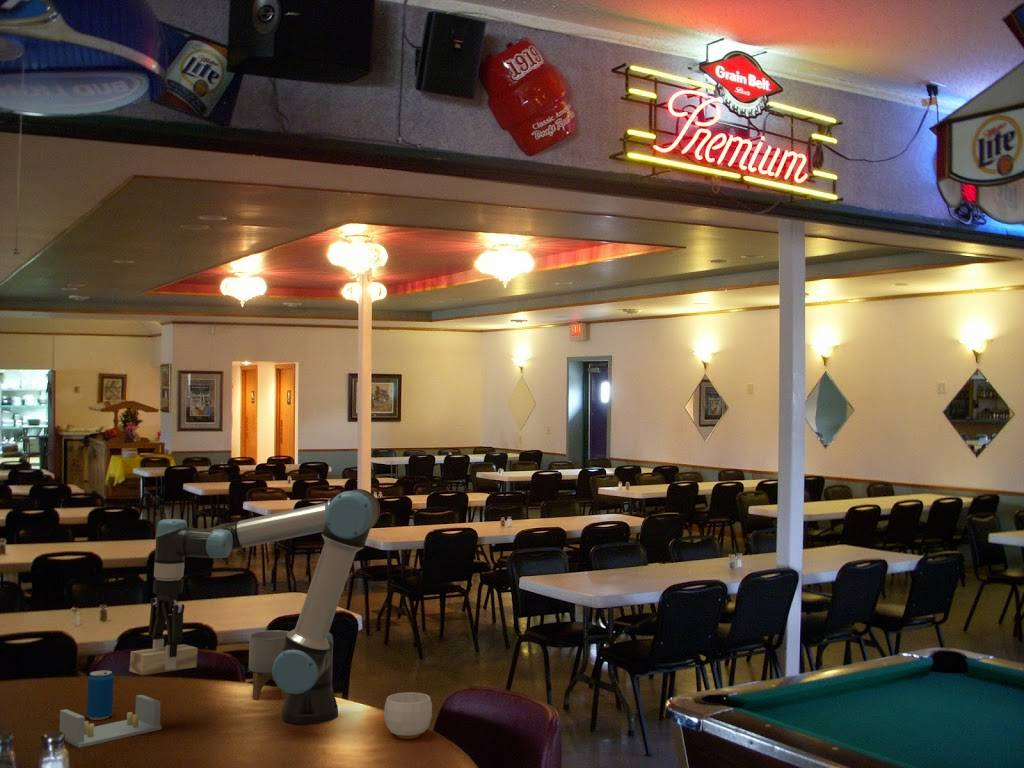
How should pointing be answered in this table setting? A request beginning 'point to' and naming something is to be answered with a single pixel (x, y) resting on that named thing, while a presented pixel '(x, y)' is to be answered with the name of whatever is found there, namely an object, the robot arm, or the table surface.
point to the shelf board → (161, 659)
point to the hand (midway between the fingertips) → (163, 666)
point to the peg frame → (111, 724)
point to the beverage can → (100, 695)
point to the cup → (408, 714)
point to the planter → (264, 657)
